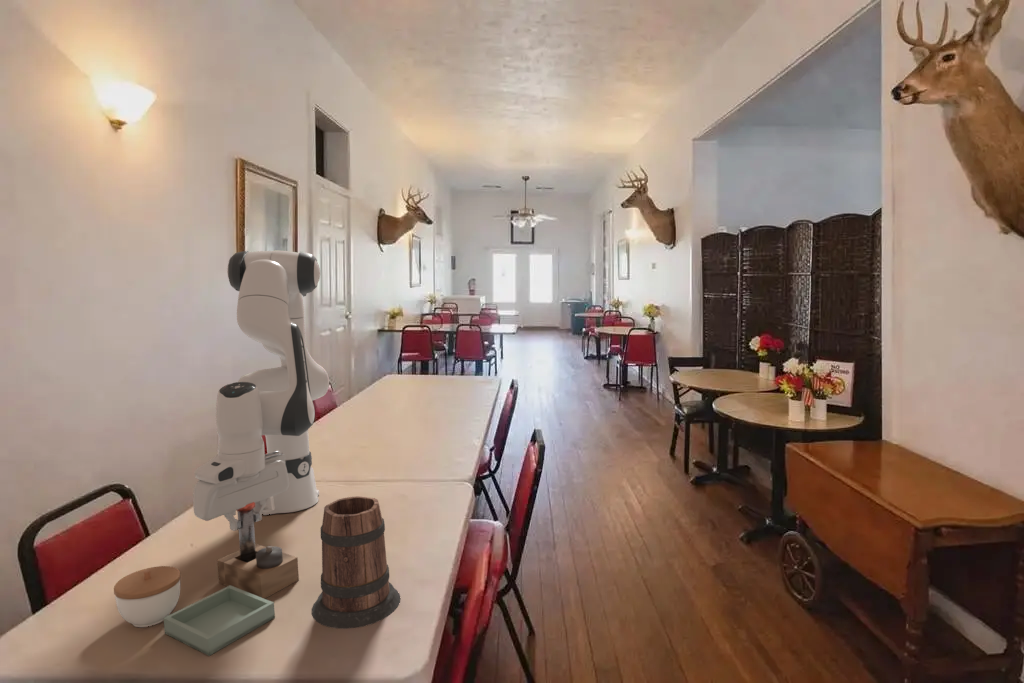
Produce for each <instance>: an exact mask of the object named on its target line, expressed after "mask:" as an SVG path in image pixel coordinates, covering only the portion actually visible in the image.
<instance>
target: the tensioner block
mask: <svg viewBox="0 0 1024 683" xmlns="http://www.w3.org/2000/svg"><path fill="white" fill-rule="evenodd" d="M255 549H256V559H254V560H252V561H250V562H248V563H246V562H244V561H241V558H240V549H238V550H237V551H235V552H232V553H230V554H228V555H225V556H223V557H221V558H219V559H217V560H216V562H217V563H216V564H217V573H218V574H217V576H218V578H217V579H218V583H219V584H221V585H224V586H226V587H227V586H230V585H231V586H233V587H236V588H238V589H241V590H244V591H246V592H249V593H251V594H254V595H256V596H259V597H261V598H264V599H266V598H268V597H270V596H272V595H274V594H276V593H278V592H280V591H281V590H283V589H285V588H287V587H288V586H290V585H293V584H294V583H296V582H298V581H299V580H300V578H299V563H298V562H299V559H298V556H294V555H292V554H288V553H285V552H283V548H281V547H280V546H274V545H267V546H264V545H261V544H258V543H255Z"/></svg>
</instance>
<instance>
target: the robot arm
mask: <svg viewBox="0 0 1024 683" xmlns="http://www.w3.org/2000/svg"><path fill="white" fill-rule="evenodd" d="M226 269H227V270H226V271H227V279H228V281H229V284H230V286H231V287H232V288H233V289H234V290H235V291H237V292H238V296H237V297H238V298H237V307H236V320H237V322H236V323H237V325H238V326H239V329H240V330H241V331H242V332H243V333H244V334H245V335H246V337H247V336H248V338H250V339H251V340H253V341H255V342H258V343H259V344H261V345H262V347H264V349H265V350H266V351H268V352H270V353H271V354H274V355H276V356H279V359H280V363H281V364H280V366H279V367H271V368H264V369H258V370H255V371H252V372H249V373H247V374H244V375H242V376H241V377H240V378H239V379H238V380H237V382H233V383H229V384H228V383H227V384H226V385H224V386H222V387H220V389H218V392H217V397H216V404H215V406H216V407H215V427H216V433H217V435H218V438H219V439H218V447H217V454H216V455H214V456H213V457H212V458H210V459H208V460H207V461H206V462H205V463H203V464H201V465H200V466H198V467H197V468H196V469H195V470H194V477H195V479H197V480H198V481H197V482H195V485H194V487H193V494H192V496H193V501H192V503H193V507H192V508H193V514H194V516H195V517H196V518H198V519H200V520H203V521H206V522H208V521H211V520H214V519H217V518H220V517H221V516H224V518H226V520H227V521H228V522H229V529H230V531H233V532H235V531H239V529H240V528H241V521H240V520H238V518H236V517H235V516H236V515H237V511H236V510H238V509H240V508H243V507H245V506H246V505H247V504H250V503H253V502H254V503H255V507H254V508H253V516H254V523H257V522H259V521H262V520H263V517H262V516H267V515H269V514H270V515H274V514H288V513H294V512H299V511H303V510H306V509H309V508H311V507H313V506H314V505H316V504H317V503H318V502H319V495H320V490H319V489H318V488H317V483H316V477H315V471H314V468H313V467H312V465H313V460H312V459H313V456H312V452H311V451H310V440H309V439H310V437H309V429H310V428H311V427H312V426H313V424H314V421H315V416H316V415H315V412H316V411H315V405H314V402H313V401H315V400H318V399H320V398H322V397H324V396H325V395H326V394H327V393H328V391H329V388H330V378H329V374H328V371H326V369H325V368H324V367H323V366H322V365H320V364H318V363H317V362H316V360H314V358H313V357H312V356H311V354H310V352H309V350H308V349H309V348H308V346H307V343H306V332H305V311H304V310H305V309H304V300H303V298H304V297H306V296H307V295H308V294H310V293H312V292H313V291H315V290H316V288H317V287H318V284H319V281H320V278H321V269H320V265H319V262H318V259H317V258H316V256H315V255H314V254H312V253H309V252H306V251H305V252H304V251H300V252H296V251H290V250H277V249H276V250H275V249H274V250H260V251H259V250H258V251H257V250H256V251H248V250H245V251H244V250H243V251H238V252H236V253H233V255H232V256H230V258H229V260H228V264H227V268H226ZM263 436H265V441H264V439H263ZM265 445H266V452H267V453H266V452H265ZM262 514H263V515H262Z"/></svg>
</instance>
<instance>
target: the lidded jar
mask: <svg viewBox="0 0 1024 683" xmlns="http://www.w3.org/2000/svg"><path fill="white" fill-rule="evenodd" d="M113 593H114V598H115V604H116V608H117V611H118V613H119V615H120V616H121V618H122V620H124V621H126V623H128V624H132V626H133V627H135V628H148V626H149V627H152V625H153V626H155V625H158V624H160V623H162V622H164V617H166V616H169V615H171V614H172V612H173V610H174V609H175V608H176V606H177V605H178V601H179V600H180V599H179V598H180V595H181V571H180V570H179V569H178V568H177V567H176V566H175V567H174V566H170V565H169V566H167V565H160V566H151V567H147V568H144V569H140V570H136V571H134V572H132V573H129V574H127V575H125V576H124V577H122V578H121V579H119V580H118V581H117V582H116V583H115V584H114V587H113Z"/></svg>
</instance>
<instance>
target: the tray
mask: <svg viewBox="0 0 1024 683" xmlns="http://www.w3.org/2000/svg"><path fill="white" fill-rule="evenodd" d="M275 612H276V611H275V602H274V601H271V600H269V599H266V598H265V599H264V598H261V597H259V596H256V595H254V594H251V593H249V592H246V591H244V590H241V589H238V588H236V587H233V586H231V585H230V586H226V587H223V588H221V589H220V590H217V591H216V592H214V593H212V594H209V595H207V596H206V597H203V598H201V599H199V600H198V601H195V602H194V603H191V604H189V605H187V606H185V607H183V608H180V609H179V610H177V611H175V612H173V613H170V614H169V616H166V617H164V621H163V627H164V634H165V635H167V636H169V637H171V638H173V639H175V640H176V641H179V642H180V643H183V644H185V645H186V646H187V647H188V646H189V647H190V648H192V649H194V650H197V651H198V652H200V653H202V654H204V655H207V656H208V657H210V656H212V655H213V654H214V653H217V652H219V651H220V650H222V649H224V648H226V647H227V646H229V645H230V644H232V643H234V642H235V641H237V640H239V639H240V638H243V637H244V636H247V634H249V633H251V632H253V631H254V630H257V629H258V628H259V627H261V626H263V625H265V624H267V623H268V622H270V621H271V620H273V619H275V618H276V613H275Z"/></svg>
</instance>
